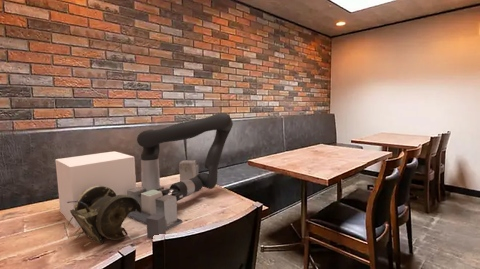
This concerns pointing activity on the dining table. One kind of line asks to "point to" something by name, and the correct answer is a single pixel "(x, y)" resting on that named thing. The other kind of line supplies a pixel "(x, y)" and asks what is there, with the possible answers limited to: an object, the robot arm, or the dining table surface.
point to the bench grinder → (102, 213)
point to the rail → (163, 207)
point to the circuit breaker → (188, 169)
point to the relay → (155, 225)
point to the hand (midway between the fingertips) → (153, 199)
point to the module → (150, 201)
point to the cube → (93, 177)
